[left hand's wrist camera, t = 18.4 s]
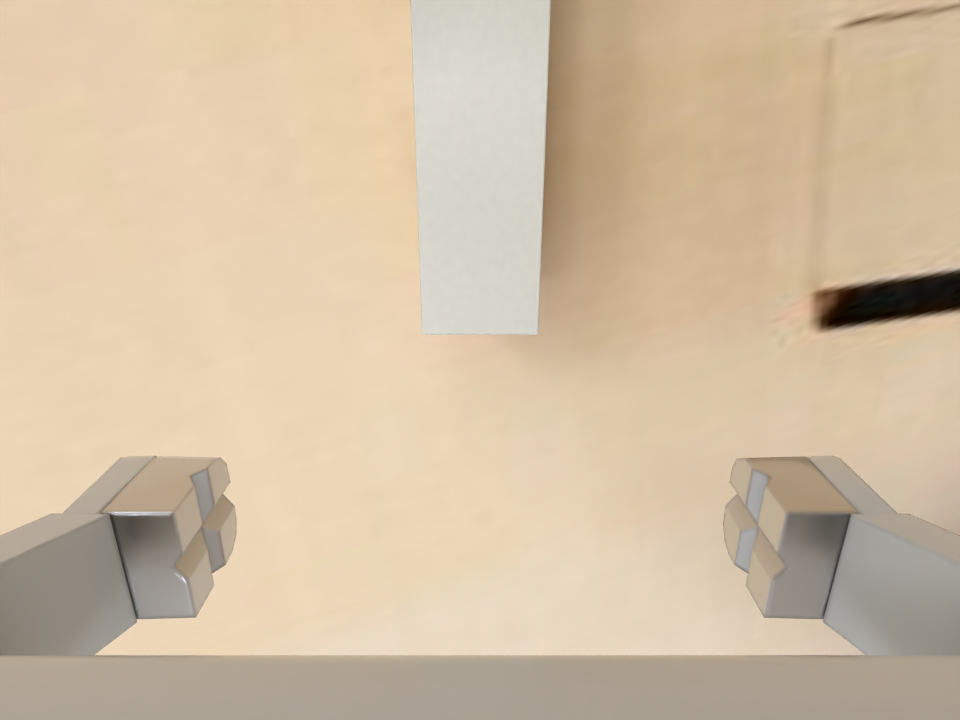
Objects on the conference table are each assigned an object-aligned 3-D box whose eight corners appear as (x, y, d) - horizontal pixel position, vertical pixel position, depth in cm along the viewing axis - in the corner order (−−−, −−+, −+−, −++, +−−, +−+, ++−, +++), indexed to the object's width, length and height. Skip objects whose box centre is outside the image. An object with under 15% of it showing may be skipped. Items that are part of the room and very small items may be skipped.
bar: (525, 285, 35) (538, 335, 28) (434, 285, 35) (421, 335, 28) (542, -270, 26) (567, -426, 19) (420, -270, 26) (395, -426, 19)
